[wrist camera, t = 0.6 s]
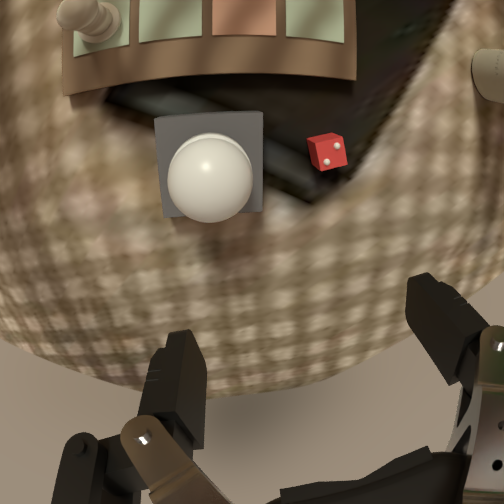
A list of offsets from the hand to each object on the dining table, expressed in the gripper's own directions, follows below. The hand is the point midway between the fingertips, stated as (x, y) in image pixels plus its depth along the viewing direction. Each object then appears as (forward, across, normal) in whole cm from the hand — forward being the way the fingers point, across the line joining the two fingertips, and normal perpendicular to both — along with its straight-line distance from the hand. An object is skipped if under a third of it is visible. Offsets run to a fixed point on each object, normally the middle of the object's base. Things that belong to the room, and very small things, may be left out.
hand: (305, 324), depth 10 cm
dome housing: (+24, +4, -3) cm, 24 cm away
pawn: (+20, +11, -21) cm, 31 cm away
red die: (+25, -8, -2) cm, 26 cm away
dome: (+19, +4, -3) cm, 20 cm away
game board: (+23, +1, -19) cm, 30 cm away
